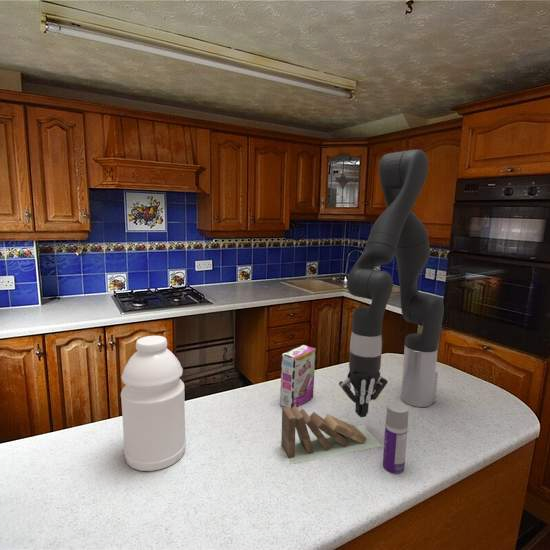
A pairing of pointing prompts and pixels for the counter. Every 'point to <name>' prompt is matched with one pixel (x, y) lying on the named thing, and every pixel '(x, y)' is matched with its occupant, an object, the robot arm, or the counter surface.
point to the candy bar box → (297, 376)
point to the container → (395, 438)
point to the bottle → (153, 406)
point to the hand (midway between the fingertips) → (361, 415)
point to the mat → (334, 450)
